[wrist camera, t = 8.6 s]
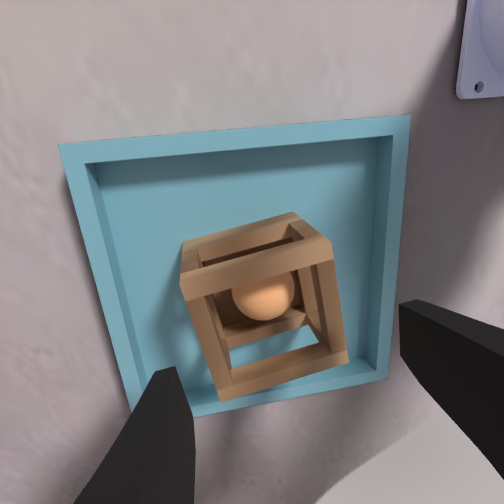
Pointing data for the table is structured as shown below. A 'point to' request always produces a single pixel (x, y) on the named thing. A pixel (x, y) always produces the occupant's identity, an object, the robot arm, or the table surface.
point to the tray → (233, 215)
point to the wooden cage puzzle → (248, 330)
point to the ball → (265, 297)
